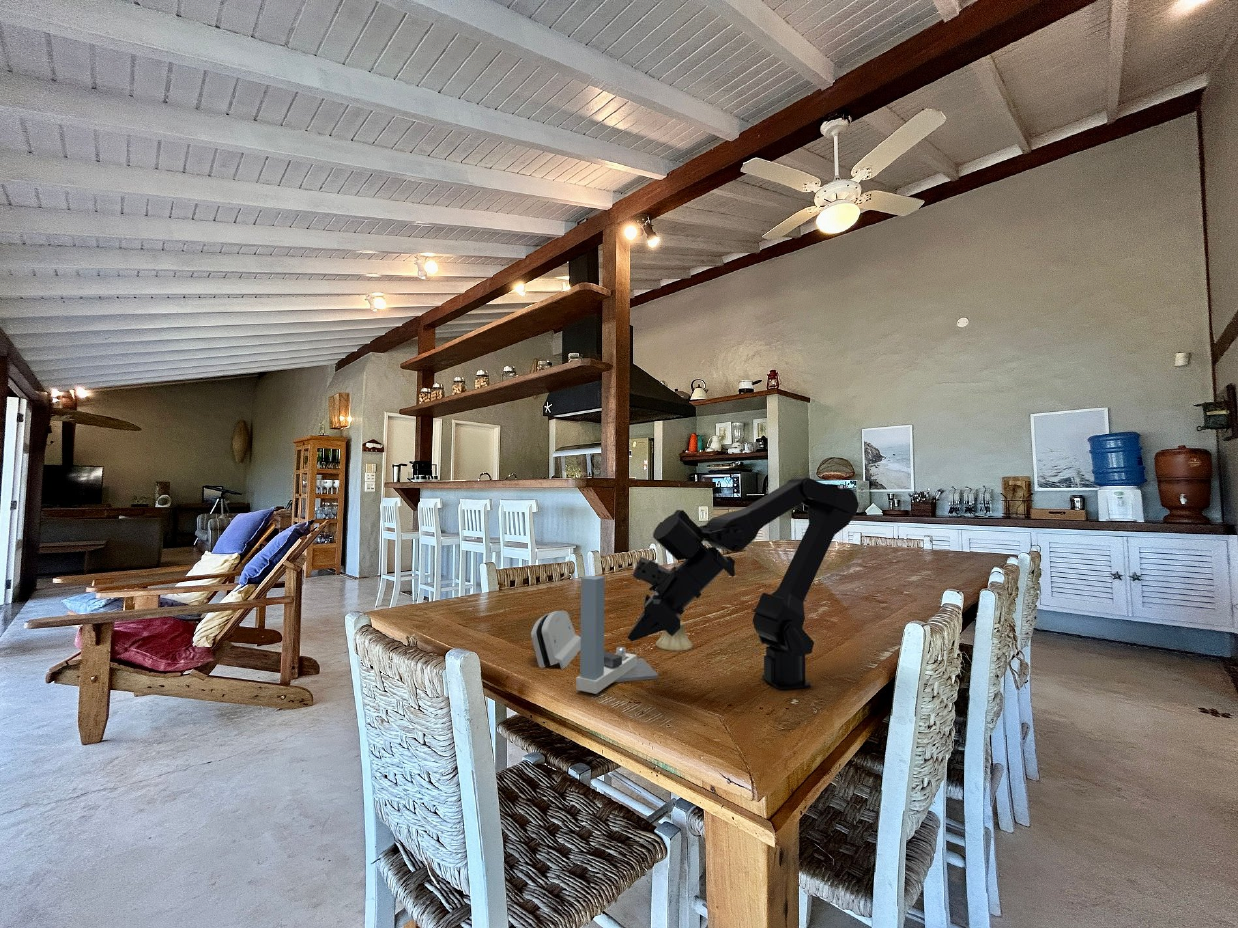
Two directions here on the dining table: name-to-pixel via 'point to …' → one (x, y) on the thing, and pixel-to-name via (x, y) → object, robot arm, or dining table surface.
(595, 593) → the link
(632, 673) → the pintle block
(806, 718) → the dining table surface
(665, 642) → the hand bell
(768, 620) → the robot arm
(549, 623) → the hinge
